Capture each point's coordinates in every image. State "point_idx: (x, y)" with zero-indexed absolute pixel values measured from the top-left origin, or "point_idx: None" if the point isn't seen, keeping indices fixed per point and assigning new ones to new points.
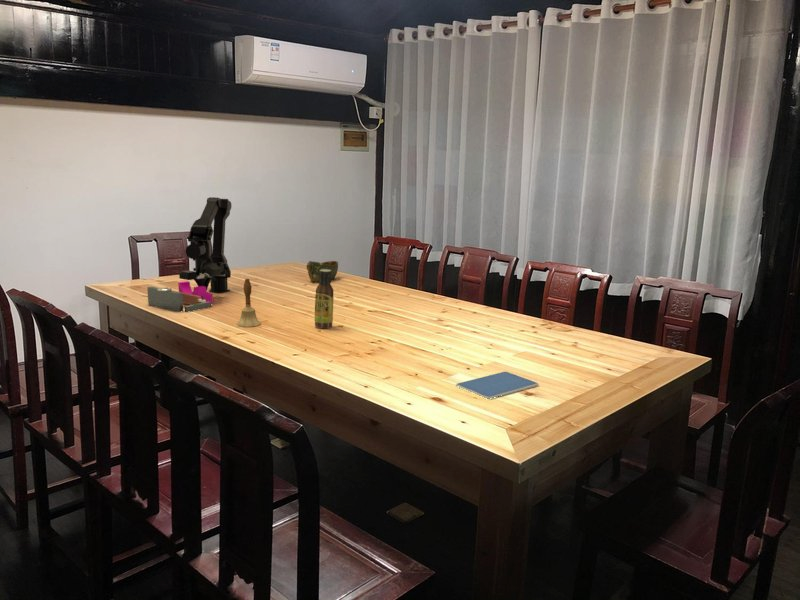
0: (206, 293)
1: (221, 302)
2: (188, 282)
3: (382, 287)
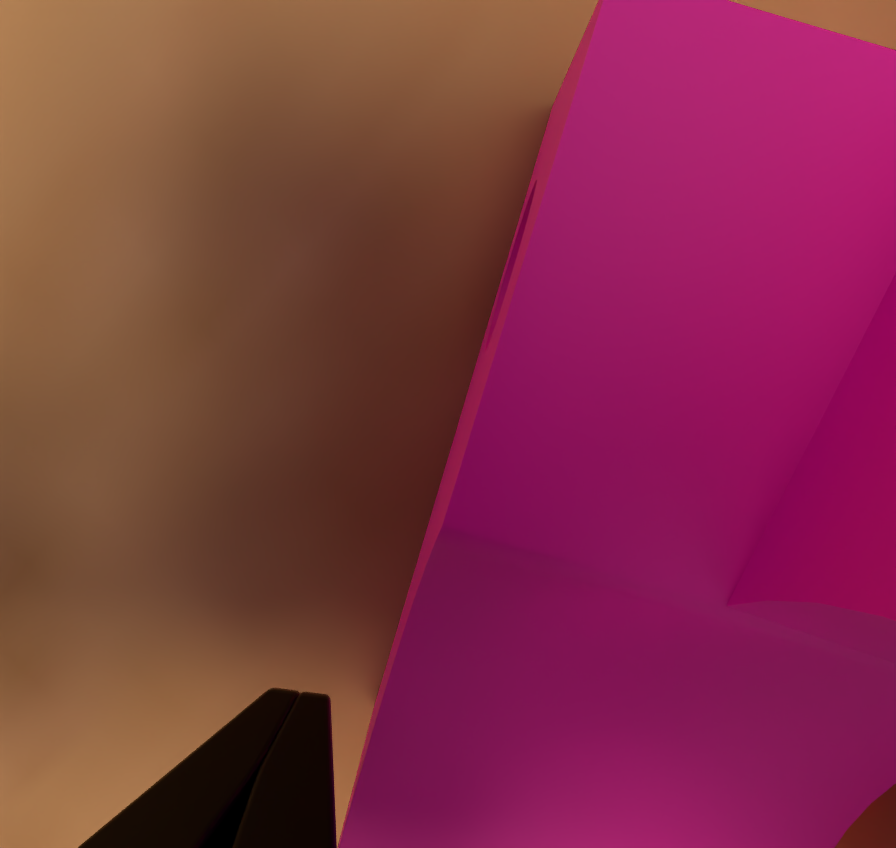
0: (696, 331)
1: (192, 124)
2: None
3: None
